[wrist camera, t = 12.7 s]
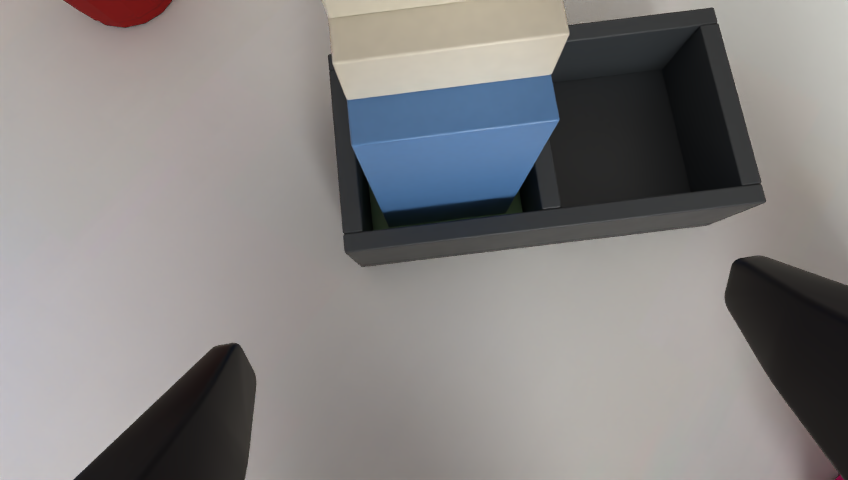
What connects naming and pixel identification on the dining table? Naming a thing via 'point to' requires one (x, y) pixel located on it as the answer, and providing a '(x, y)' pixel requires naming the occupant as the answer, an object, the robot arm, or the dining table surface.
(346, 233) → the caddy
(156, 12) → the plastic cup
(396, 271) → the dining table surface
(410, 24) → the carton
